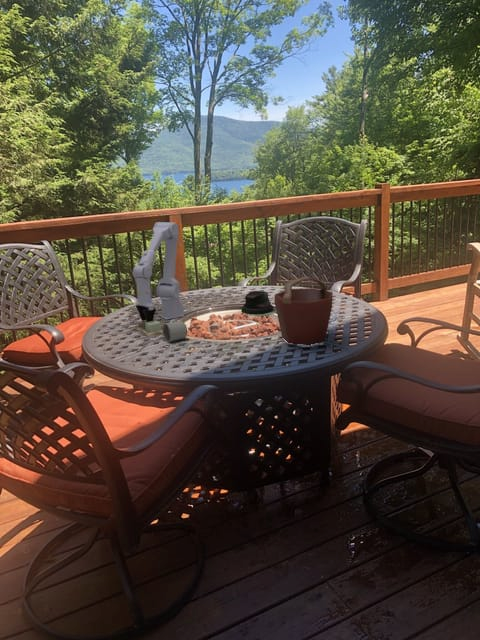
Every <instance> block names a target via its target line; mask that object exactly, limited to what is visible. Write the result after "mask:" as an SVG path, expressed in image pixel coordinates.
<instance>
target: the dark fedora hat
mask: <svg viewBox="0 0 480 640" xmlns="http://www.w3.org/2000/svg"><path fill="white" fill-rule="evenodd" d="M244 299H245V303H244V304H243V306H242V307H241V312H242V313H243V314H245V316H248V317H249V316H250V317H261V316H262V317H263V316H269V315H273V314H277V311H276V310H275V309H274V306H273V304H272V302H271V300H270V299H269V292H268V291H264V290H262V291H261V290H252V291H249V292H248V293H247V294H246V295H245V297H244Z"/></svg>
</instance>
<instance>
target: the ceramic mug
mask: <svg viewBox="0 0 480 640" xmlns="http://www.w3.org/2000/svg"><path fill="white" fill-rule="evenodd" d="M162 326H163V334H162V335H163V339H164V340H165V342H167V343H171V342H176V341H179V340H182V339H185V338H186V337H187V336H188V327H187V324H186V323H185V322H183V321H174V322H165V323H164V324H162Z"/></svg>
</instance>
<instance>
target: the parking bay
mask: <svg viewBox="0 0 480 640" xmlns="http://www.w3.org/2000/svg"><path fill="white" fill-rule="evenodd" d="M137 330H138V332H140V333H141V334H142V335H144V336H145V337H147V338H151V337H155V336H159V335H163V324H161V331H158V332H153V333H148V332H147V331H146V330H144V329H143V328H142V327H137Z"/></svg>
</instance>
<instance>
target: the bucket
mask: <svg viewBox="0 0 480 640" xmlns="http://www.w3.org/2000/svg"><path fill="white" fill-rule="evenodd" d="M309 280H311V281H313V282H315V283H317V284H318V285H319V286H320V288H315V287H312V288H311V287H309V288H293V286H295V285H297V284H298V283H301V282H303V281H309ZM283 286H284V287H283V288H284V289H283V291H280V292H277V293H275V294H274V305H275V311H277V312H276V315H277V319H278V325H279V329H280V334H281V337H283V338H284V339H285V340H286V341H287V342H288V343H293V344H306V345H311V344H315V343H319V342H324V341H325V342H326V338H327V337H326V336H327V333H328V329H329V323H330V319H331V313H332V308H333V291H330V290H329V291H328V286H327V285H326V283H325V282H323V281H321V280H319V279H317V278H313V277H309V276H308V277H307V276H304V277H299V278H295V279H293V280H290V281H289V282H286V283H285V284H284V285H283Z"/></svg>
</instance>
